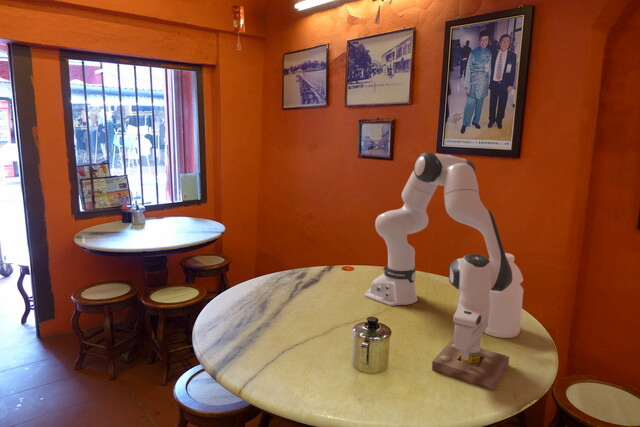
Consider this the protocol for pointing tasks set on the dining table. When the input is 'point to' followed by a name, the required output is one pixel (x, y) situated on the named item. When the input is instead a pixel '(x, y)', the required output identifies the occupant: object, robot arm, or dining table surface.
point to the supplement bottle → (473, 355)
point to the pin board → (471, 366)
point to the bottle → (506, 306)
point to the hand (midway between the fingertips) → (471, 352)
